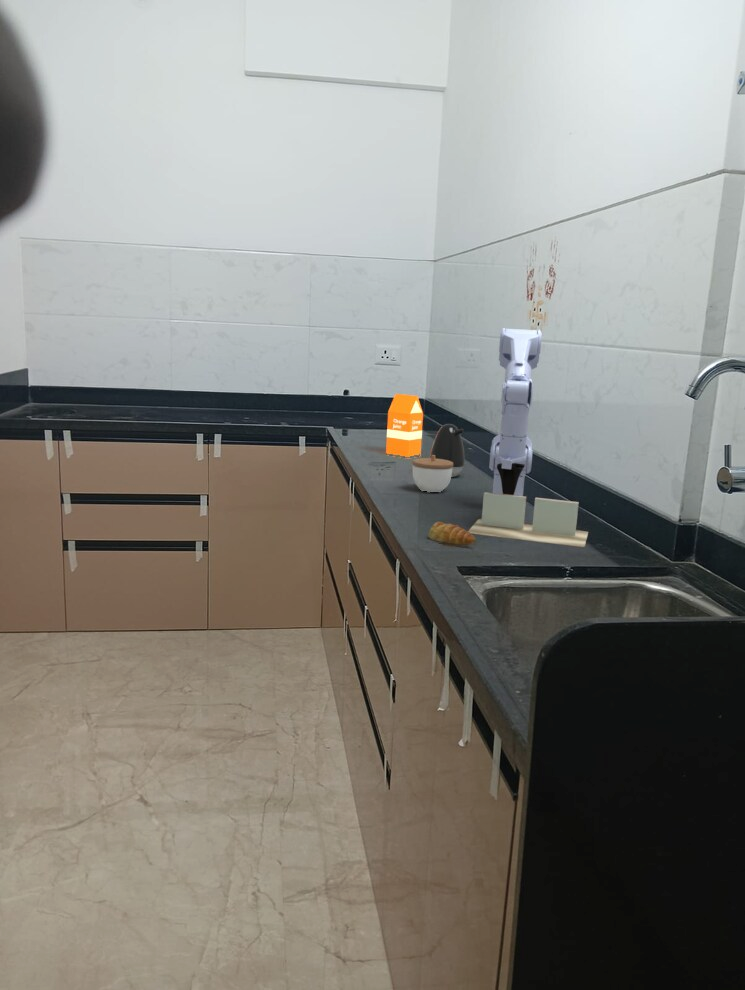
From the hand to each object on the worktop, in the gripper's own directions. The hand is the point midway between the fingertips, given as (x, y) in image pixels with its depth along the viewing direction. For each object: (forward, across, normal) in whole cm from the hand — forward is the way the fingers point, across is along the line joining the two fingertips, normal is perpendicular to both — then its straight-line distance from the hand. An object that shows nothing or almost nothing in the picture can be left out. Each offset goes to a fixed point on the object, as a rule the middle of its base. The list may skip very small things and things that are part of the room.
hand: (508, 496), depth 185 cm
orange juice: (+6, -80, -46) cm, 93 cm away
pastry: (+7, +22, -8) cm, 24 cm away
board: (+6, +8, +6) cm, 12 cm away
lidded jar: (+6, -28, -24) cm, 37 cm away
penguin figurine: (+6, -51, -25) cm, 57 cm away
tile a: (+6, +6, 0) cm, 8 cm away
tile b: (+6, +6, +11) cm, 14 cm away
